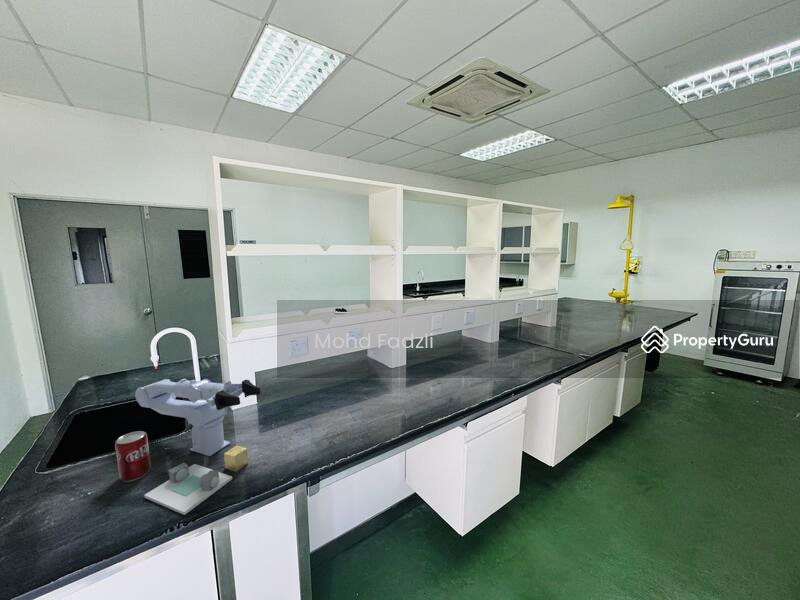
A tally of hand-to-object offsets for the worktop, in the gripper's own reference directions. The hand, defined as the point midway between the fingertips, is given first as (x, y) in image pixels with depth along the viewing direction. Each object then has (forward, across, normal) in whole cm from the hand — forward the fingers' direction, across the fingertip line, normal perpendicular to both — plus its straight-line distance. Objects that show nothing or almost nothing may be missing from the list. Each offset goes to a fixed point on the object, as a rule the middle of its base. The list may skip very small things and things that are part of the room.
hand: (249, 395), depth 98 cm
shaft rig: (-9, -16, +21) cm, 28 cm away
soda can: (-30, -18, +20) cm, 40 cm away
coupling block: (-5, -4, +21) cm, 22 cm away
